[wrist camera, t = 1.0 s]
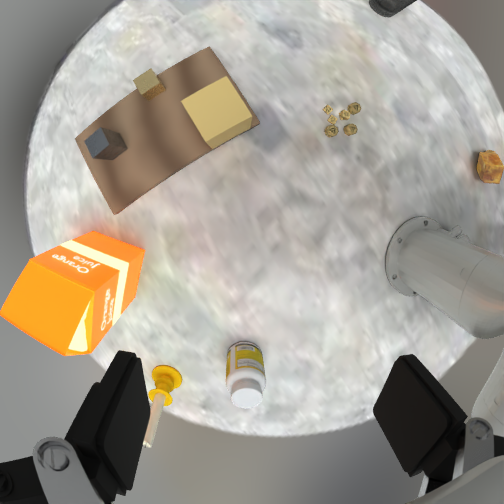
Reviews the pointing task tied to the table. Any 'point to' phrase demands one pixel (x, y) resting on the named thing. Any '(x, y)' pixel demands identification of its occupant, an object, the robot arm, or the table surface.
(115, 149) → the post
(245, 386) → the supplement bottle
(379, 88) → the table surface
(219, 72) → the board
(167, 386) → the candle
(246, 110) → the tan rectangular block
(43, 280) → the orange juice
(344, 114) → the set of tan pieces
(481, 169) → the pyrite
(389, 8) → the beverage cup
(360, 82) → the table surface
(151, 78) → the wooden stub
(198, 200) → the table surface
